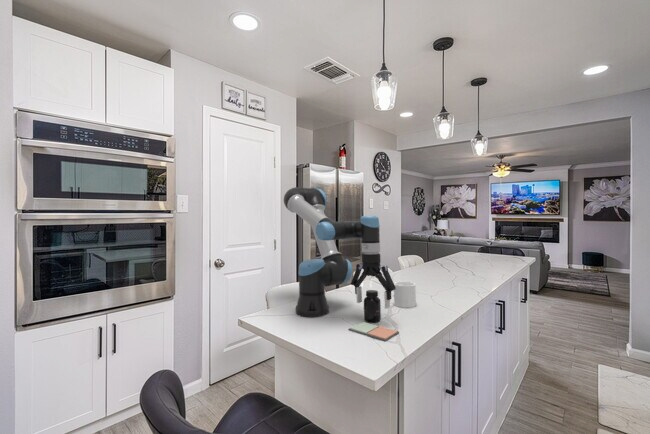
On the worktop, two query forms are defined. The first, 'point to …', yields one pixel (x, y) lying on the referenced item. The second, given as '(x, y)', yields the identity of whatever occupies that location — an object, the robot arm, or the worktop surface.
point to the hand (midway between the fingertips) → (372, 305)
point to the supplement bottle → (372, 307)
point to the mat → (374, 331)
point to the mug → (404, 295)
